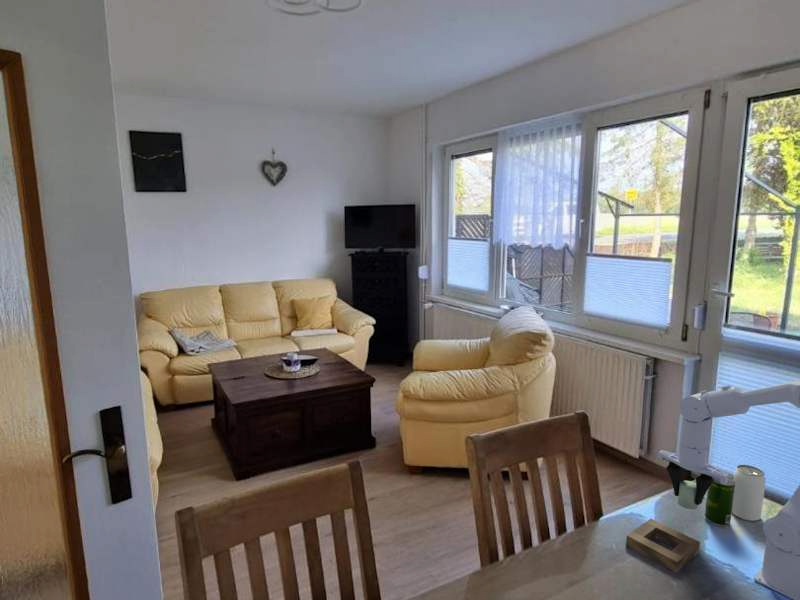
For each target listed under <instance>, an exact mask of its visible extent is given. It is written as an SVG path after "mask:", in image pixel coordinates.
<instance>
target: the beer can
mask: <svg viewBox="0 0 800 600" xmlns="http://www.w3.org/2000/svg"><path fill="white" fill-rule="evenodd" d="M728 474H729V475H728V482H727V483H725V484H722V483H720V482H719V481H718V480H714V481H713V483H712V484H711V485H710V487H709V488H708V490H707V491H706V501H705V508H704V509H705V510H704V517H705V520H706V521H707V522H708V523H709V522H710V524H711V525H712V526H713V525H714V526H716V527H721V528H725V527H728V526H729V525H730V524H731V520H732V519H731V518H732V515H733V513H732V506H733V498H734V491H735V481H734V480H735V478H734V475H732V474H730V473H728Z"/></svg>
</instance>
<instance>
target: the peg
mask: <svg viewBox="0 0 800 600" xmlns="http://www.w3.org/2000/svg"><path fill="white" fill-rule="evenodd" d="M695 497H696V482H693V481H690V480H684V479H683V481H680V486H679V495H678V496H677V505H679V506H680V507H681V508H684V509H686V510H687V509H688V510H696V509H697V508H698V505H696V504H695Z"/></svg>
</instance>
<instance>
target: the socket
mask: <svg viewBox="0 0 800 600" xmlns="http://www.w3.org/2000/svg"><path fill="white" fill-rule="evenodd" d="M654 537H655V538H656V537H657V538H656V539H658V538H659V539H658V540H660V539H661V540H660V541H662V542H664V541H665V542H664V543H666V542H667V543H666V544H668V543H669V544H668V545H670V544H671V545H670V546H672V545H673V546H672V547H674V546H675V547H674V548H673V549H671V550H670V549H668V548H666V547H664V546H662V545H660V544H658V543H656V542H654V541H652V540H653V539H655V538H654ZM650 540H651V541H650ZM625 546H627V547H628V548H629V549H632V550H634V551H635V552H638V553H639V554H641V555H643V556H645V557H646V558H648V559H650V560H652V561H654V562H656V563H657V562H658V563H657V564H659V563H660V564H659V565H661V564H662V565H661V566H663V565H664V566H663V567H665V566H666V567H665V568H667V567H668V568H670V569H672V570H673V571H672V570H671V571H672V572H674V571H675V573H676V572H677V571H678V570H679V571H680V570H681V569H682V568H683V567H685V566H686V565H687V564H688V563H689V562H690V561H691V560H692V559H693V558H695V557H696V556H697V555H698V554H699V553H700V547H701V541H699V540H697V539H695V538H692V537H690V536H689V535H686V534H684V533H682V532H680V531H678V530H676V529H673V528H671V527H670V526H667V525H665V524H663V523H662V522H659V521H657V520H655V519H652V518H649V519H647V520H646V521H645V522H643V523H642V524H641V525H640V526H638V527H636V528H635V529H634V530H632V531H631V532H629V533H628V534H627V535H626V542H625ZM668 568H667V569H668ZM670 569H669V570H670ZM679 571H678V572H679ZM678 572H677V573H678Z"/></svg>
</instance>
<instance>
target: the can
mask: <svg viewBox="0 0 800 600" xmlns="http://www.w3.org/2000/svg"><path fill="white" fill-rule="evenodd" d="M733 477H734V478H735V480H734V481H735V491H734V498H733V506H732V515H734V516H735V517H737V518H739V519H741V520H744V521H749V522H757V521H759V520H761V516H762V511H763V505H764V504H763V503H764V498H765V489H766V477H765V472H764V471H763V470H762V469H760V468H758V467H757V466H753V465H749V464H739V465H737V467H736V469H735V471H734V473H733Z"/></svg>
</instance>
